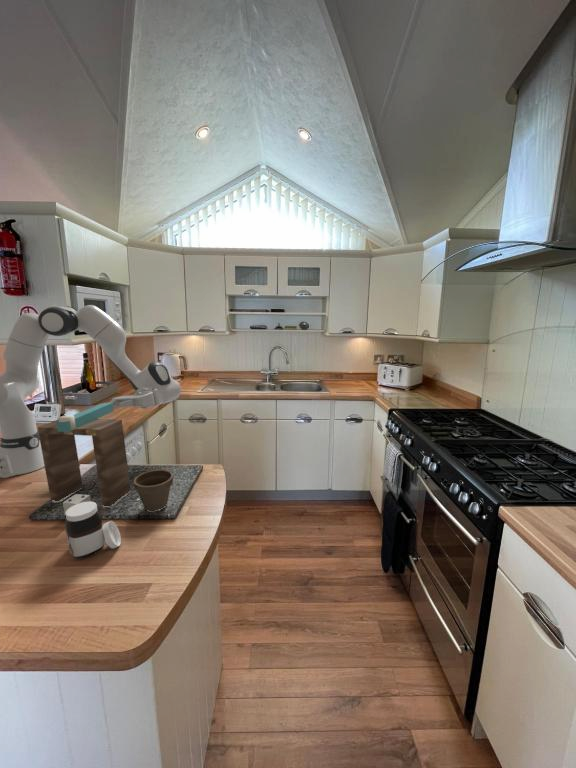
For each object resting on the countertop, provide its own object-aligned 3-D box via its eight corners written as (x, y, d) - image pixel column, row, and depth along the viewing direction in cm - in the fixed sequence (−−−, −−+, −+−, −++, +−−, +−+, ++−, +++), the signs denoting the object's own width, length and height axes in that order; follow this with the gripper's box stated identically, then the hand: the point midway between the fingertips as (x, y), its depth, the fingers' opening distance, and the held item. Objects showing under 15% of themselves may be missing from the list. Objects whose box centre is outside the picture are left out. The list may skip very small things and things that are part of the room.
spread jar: (66, 547, 88) (58, 507, 86) (112, 528, 96) (106, 490, 93) (78, 571, 79) (70, 527, 77) (127, 547, 87) (122, 507, 85)
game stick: (57, 431, 100) (54, 418, 99) (103, 411, 121) (102, 400, 120) (69, 431, 99) (67, 418, 98) (114, 411, 121) (112, 400, 120)
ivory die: (65, 517, 101) (62, 501, 100) (78, 508, 106) (75, 492, 105) (79, 519, 100) (77, 502, 99) (92, 509, 105) (89, 493, 104)
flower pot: (183, 499, 110) (180, 471, 107) (160, 519, 99) (157, 488, 97) (153, 495, 113) (150, 467, 111) (128, 514, 102) (124, 483, 100)
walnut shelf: (50, 503, 109) (36, 427, 104) (75, 487, 119) (64, 417, 114) (110, 508, 105) (98, 430, 100) (131, 492, 115) (121, 419, 110)
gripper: (129, 390, 143) (97, 398, 131) (159, 388, 131) (126, 396, 120) (132, 405, 143) (100, 413, 132) (162, 404, 132) (130, 413, 121)
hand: (113, 405), depth 126 cm, fingers open, 8 cm apart
